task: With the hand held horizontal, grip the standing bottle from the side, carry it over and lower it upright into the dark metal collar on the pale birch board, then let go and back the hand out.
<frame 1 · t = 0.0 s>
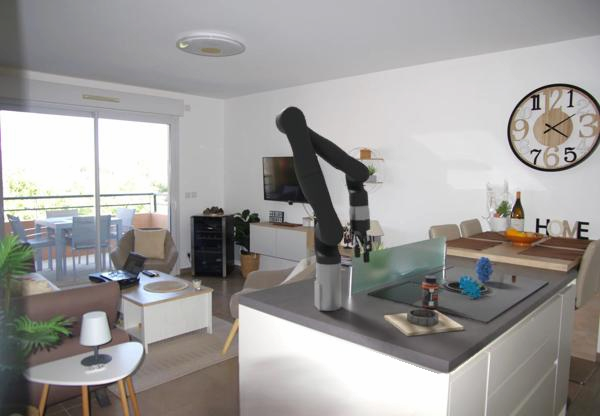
hand: (361, 259, 161), 17 cm above the table, tool pointing down, fingers open, 8 cm apart
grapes: (485, 283, 191), on the table
supplement bottle: (429, 306, 160), on the table
birch board: (422, 323, 143), on the table
gear: (470, 296, 173), on the table
metal collar: (422, 317, 143), on the birch board, point 2 cm above the table
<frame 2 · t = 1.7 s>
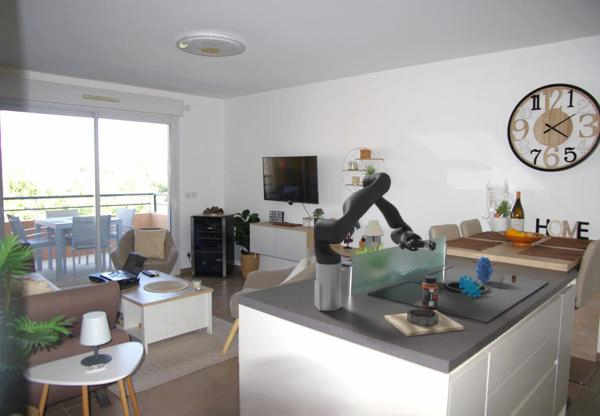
hand: (422, 248, 169), 20 cm above the table, tool horizontal, fingers open, 8 cm apart
nothing on the table moved.
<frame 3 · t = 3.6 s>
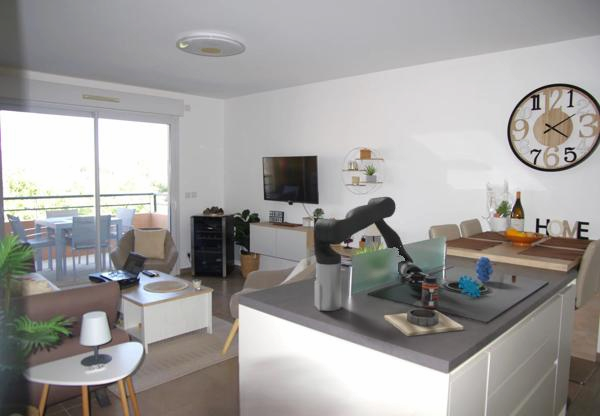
hand: (422, 282, 168), 6 cm above the table, tool horizontal, fingers open, 8 cm apart
nothing on the table moved.
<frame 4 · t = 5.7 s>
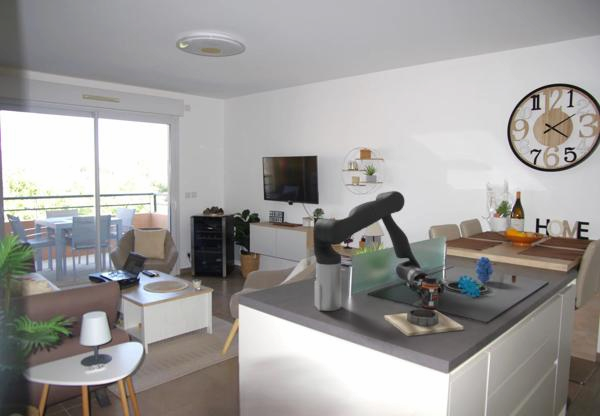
hand: (432, 291, 157), 7 cm above the table, tool horizontal, fingers closed on supplement bottle, 6 cm apart
supplement bottle: (429, 306, 160), on the table, touching gripper
everything else where it was.
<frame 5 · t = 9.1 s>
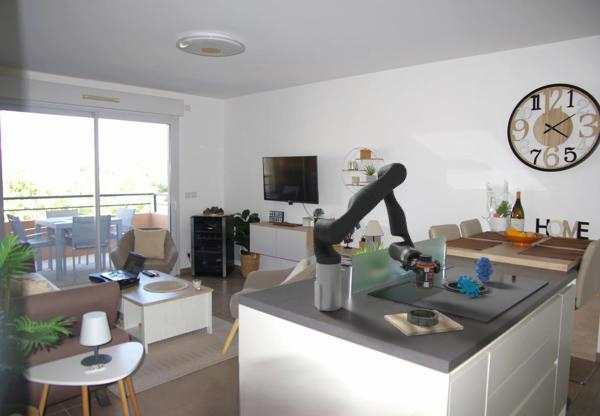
hand: (427, 270, 142), 18 cm above the table, tool horizontal, fingers closed on supplement bottle, 6 cm apart
supplement bottle: (424, 288, 145), point 11 cm above the table, touching gripper
everything else where it was.
when the fingers open (8 cm above the table, at t = 12.3 s): supplement bottle stays where it is, resting on birch board.
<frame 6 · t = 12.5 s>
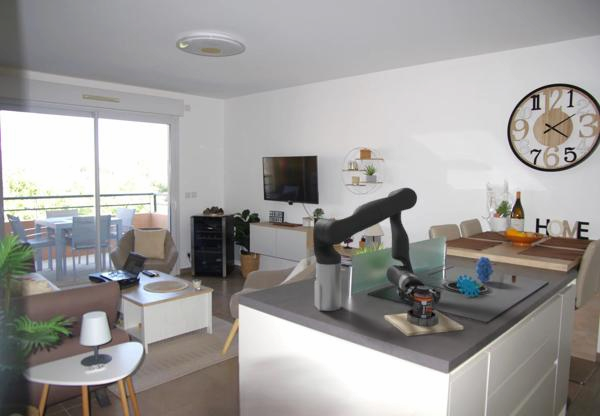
hand: (424, 300, 140), 9 cm above the table, tool horizontal, fingers open, 7 cm apart
supplement bottle: (421, 321, 143), point 1 cm above the table, touching birch board
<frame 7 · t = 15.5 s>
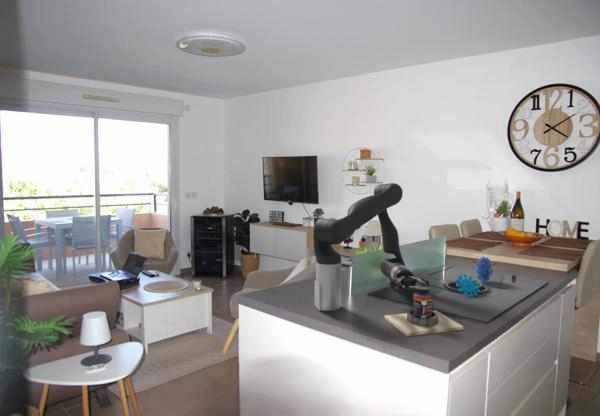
hand: (413, 288, 153), 9 cm above the table, tool horizontal, fingers open, 8 cm apart
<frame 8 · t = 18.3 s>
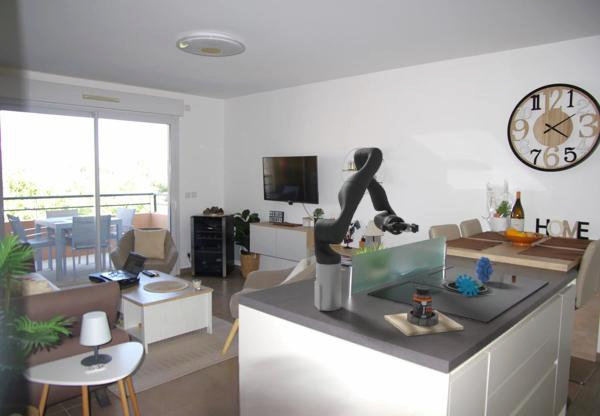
hand: (403, 230, 162), 28 cm above the table, tool horizontal, fingers open, 8 cm apart
at the end: supplement bottle 0.2 cm off-centre on the metal collar, point 0.8 cm above the metal collar's base; supplement bottle tilted 0°; the gripper is holding nothing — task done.
